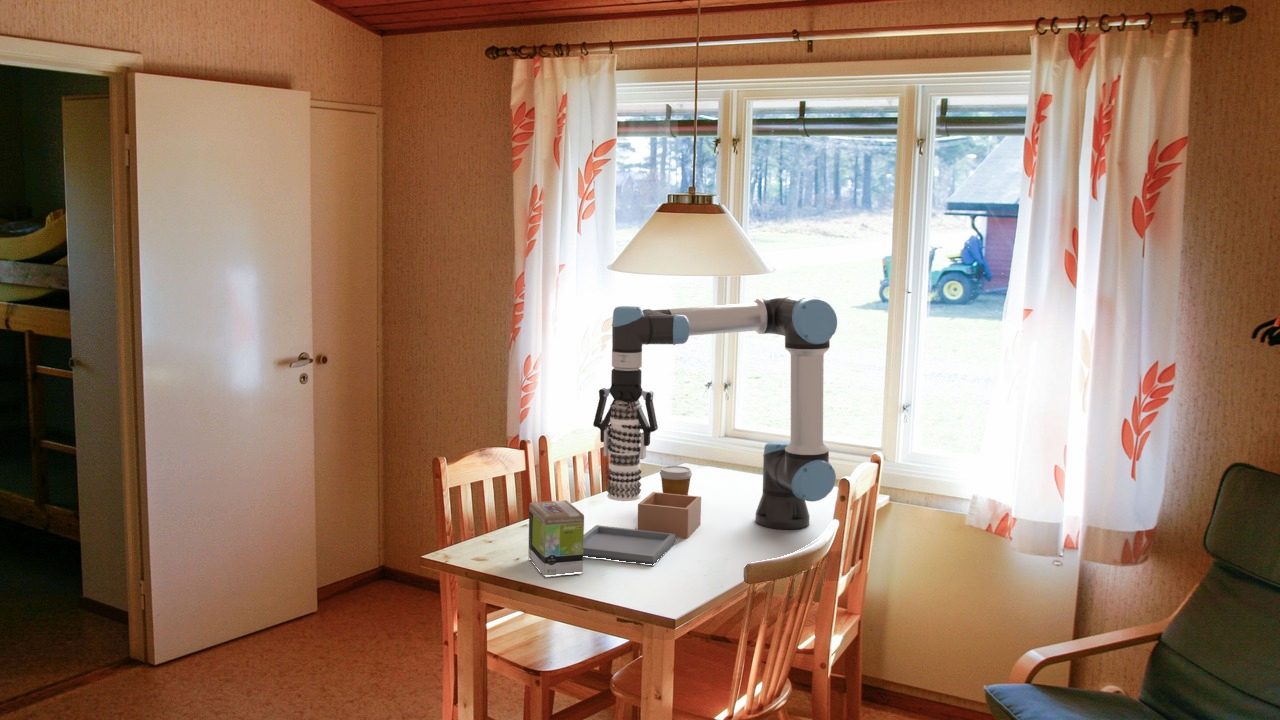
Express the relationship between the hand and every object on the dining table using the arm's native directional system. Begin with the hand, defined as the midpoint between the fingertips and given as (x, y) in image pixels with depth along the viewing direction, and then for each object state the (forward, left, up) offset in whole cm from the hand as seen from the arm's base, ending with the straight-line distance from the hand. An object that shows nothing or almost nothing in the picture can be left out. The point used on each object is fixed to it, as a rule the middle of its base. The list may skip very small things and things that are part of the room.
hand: (624, 456), depth 263 cm
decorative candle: (0, 0, -11) cm, 11 cm away
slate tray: (0, 0, -24) cm, 24 cm away
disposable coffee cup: (-2, -42, -24) cm, 49 cm away
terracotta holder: (-6, -22, -24) cm, 33 cm away
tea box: (+11, +19, -24) cm, 33 cm away
